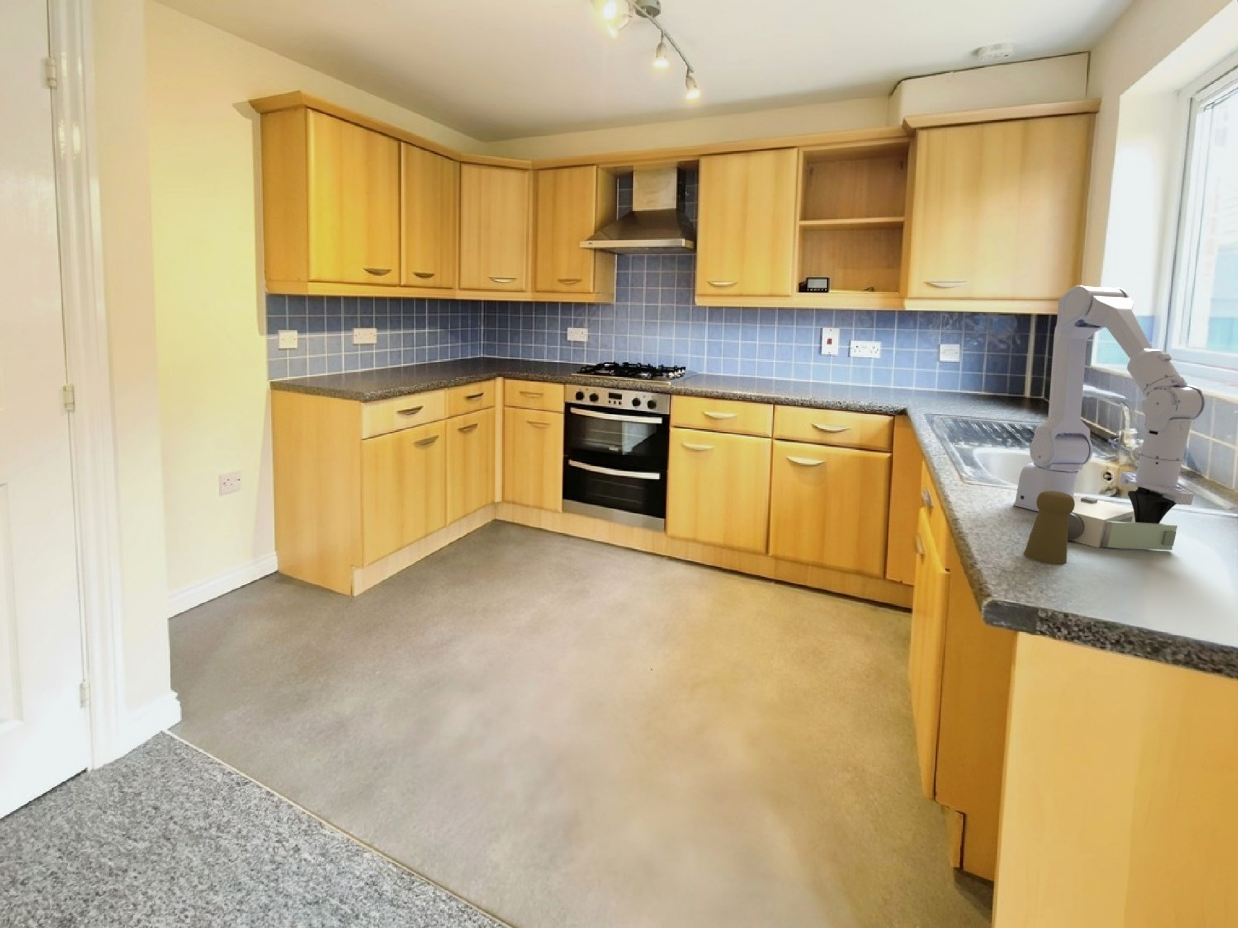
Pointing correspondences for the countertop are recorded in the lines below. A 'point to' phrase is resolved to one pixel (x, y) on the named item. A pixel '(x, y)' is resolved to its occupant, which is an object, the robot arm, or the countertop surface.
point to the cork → (1050, 528)
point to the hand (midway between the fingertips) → (1144, 533)
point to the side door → (1139, 535)
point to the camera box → (1094, 519)
